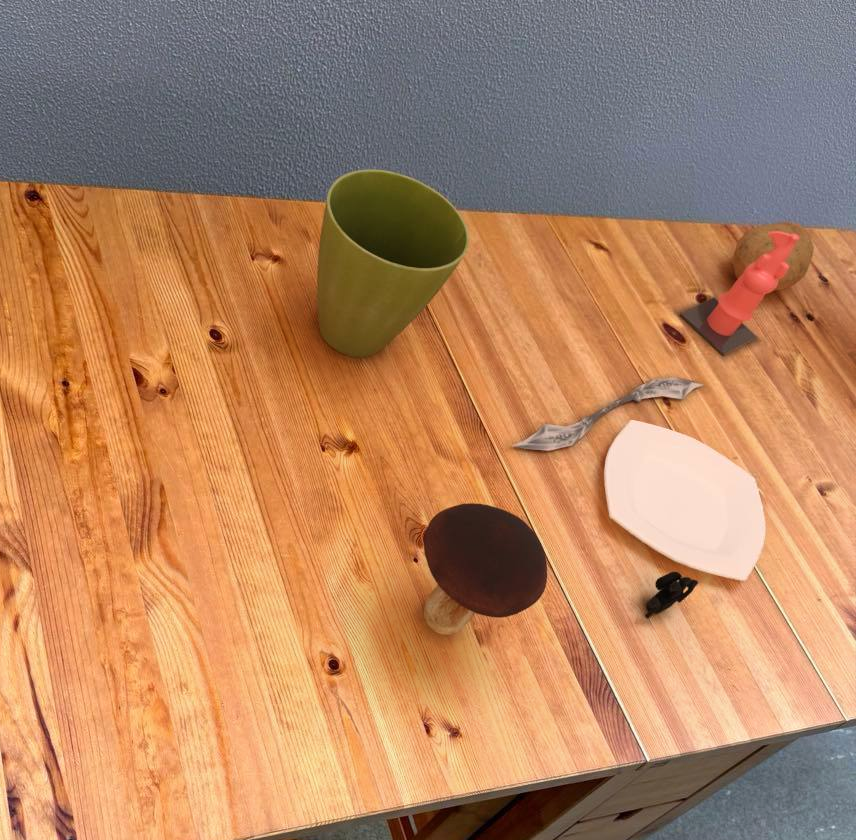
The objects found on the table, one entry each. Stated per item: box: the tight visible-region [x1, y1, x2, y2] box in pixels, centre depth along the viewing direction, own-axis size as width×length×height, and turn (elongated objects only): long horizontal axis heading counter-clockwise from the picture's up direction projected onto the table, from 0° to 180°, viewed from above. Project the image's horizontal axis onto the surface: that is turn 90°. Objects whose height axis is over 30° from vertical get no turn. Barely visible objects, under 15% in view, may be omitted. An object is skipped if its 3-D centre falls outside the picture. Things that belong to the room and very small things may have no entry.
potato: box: [733, 221, 815, 292], centre depth 135 cm, size 10×14×8 cm
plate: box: [603, 419, 767, 582], centre depth 107 cm, size 19×19×2 cm
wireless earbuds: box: [644, 571, 699, 619], centre depth 96 cm, size 7×2×5 cm, turn 121°
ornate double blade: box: [511, 376, 704, 451], centre depth 113 cm, size 32×1×5 cm
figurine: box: [707, 231, 799, 336], centre depth 123 cm, size 5×5×15 cm
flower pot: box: [316, 168, 470, 359], centre depth 103 cm, size 15×15×16 cm
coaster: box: [679, 297, 758, 357], centre depth 129 cm, size 8×8×1 cm
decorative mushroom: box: [423, 502, 548, 636], centre depth 84 cm, size 11×11×15 cm
